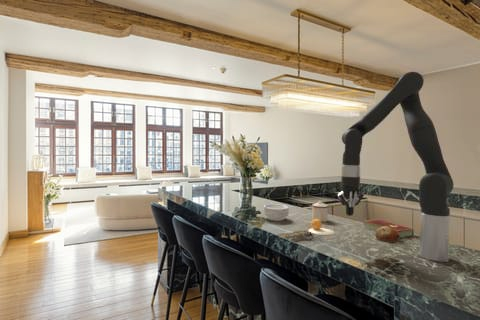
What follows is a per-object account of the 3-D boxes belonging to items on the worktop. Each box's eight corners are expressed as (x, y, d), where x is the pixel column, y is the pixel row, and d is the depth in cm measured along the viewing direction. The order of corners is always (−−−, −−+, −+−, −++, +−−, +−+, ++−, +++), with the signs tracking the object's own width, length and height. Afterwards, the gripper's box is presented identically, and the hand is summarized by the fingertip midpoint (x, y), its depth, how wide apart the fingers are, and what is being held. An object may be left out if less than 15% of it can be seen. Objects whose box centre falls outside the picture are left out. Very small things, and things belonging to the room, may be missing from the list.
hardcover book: (377, 226, 160) (378, 218, 160) (413, 236, 141) (413, 228, 141) (362, 228, 155) (362, 220, 155) (396, 239, 136) (397, 230, 136)
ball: (320, 221, 152) (325, 228, 148) (311, 226, 153) (316, 233, 148) (316, 215, 150) (321, 221, 145) (307, 220, 150) (312, 227, 145)
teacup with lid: (330, 221, 168) (331, 201, 168) (318, 222, 164) (319, 202, 164) (317, 216, 179) (318, 198, 179) (305, 218, 175) (306, 199, 175)
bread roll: (382, 242, 140) (375, 227, 142) (404, 237, 134) (396, 221, 136) (377, 247, 132) (370, 231, 134) (400, 242, 126) (392, 225, 128)
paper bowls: (290, 222, 164) (290, 208, 163) (264, 221, 164) (264, 208, 163) (286, 216, 179) (286, 204, 179) (262, 216, 179) (262, 203, 179)
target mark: (338, 231, 146) (338, 230, 146) (330, 237, 136) (330, 236, 136) (313, 227, 154) (313, 226, 154) (304, 232, 143) (304, 232, 143)
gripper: (343, 176, 116) (342, 218, 117) (369, 176, 121) (368, 216, 121) (332, 174, 124) (331, 214, 124) (357, 174, 128) (356, 212, 128)
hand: (349, 215), depth 122 cm, fingers closed
